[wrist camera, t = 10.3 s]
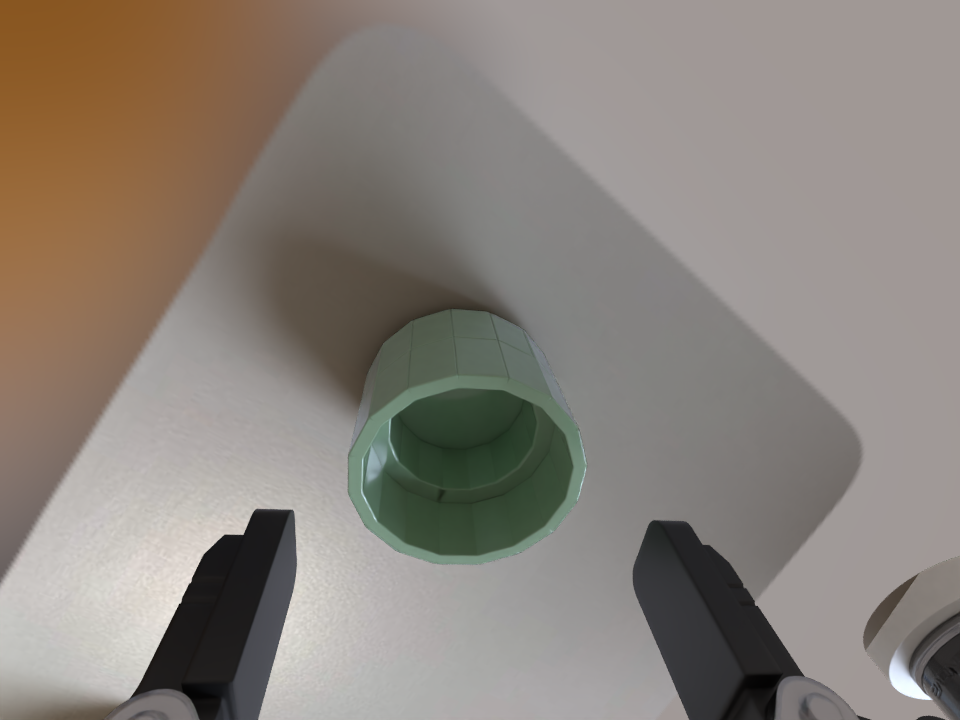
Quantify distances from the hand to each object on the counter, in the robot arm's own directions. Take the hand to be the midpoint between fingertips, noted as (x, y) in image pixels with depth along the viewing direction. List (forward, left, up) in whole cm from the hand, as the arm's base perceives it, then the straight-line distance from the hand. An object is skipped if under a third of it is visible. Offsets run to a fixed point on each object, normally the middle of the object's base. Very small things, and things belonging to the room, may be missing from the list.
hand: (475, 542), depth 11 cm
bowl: (0, 0, -7) cm, 7 cm away
